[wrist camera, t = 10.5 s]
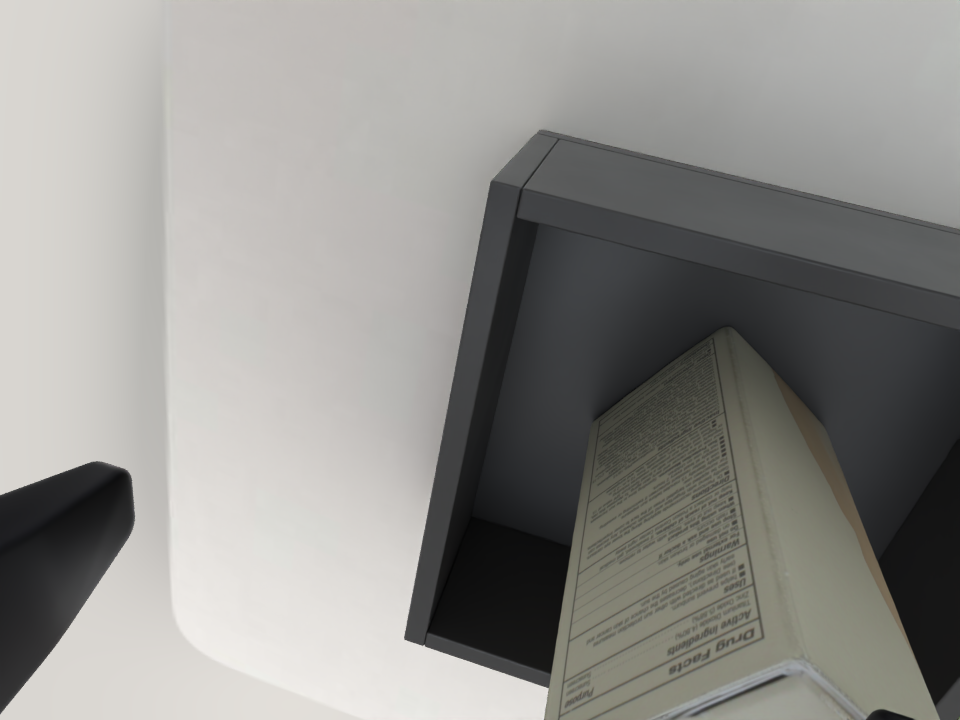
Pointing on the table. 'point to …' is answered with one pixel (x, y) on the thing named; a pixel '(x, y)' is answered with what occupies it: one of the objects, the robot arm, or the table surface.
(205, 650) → the table surface
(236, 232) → the table surface
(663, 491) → the box
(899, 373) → the dark grey tray
